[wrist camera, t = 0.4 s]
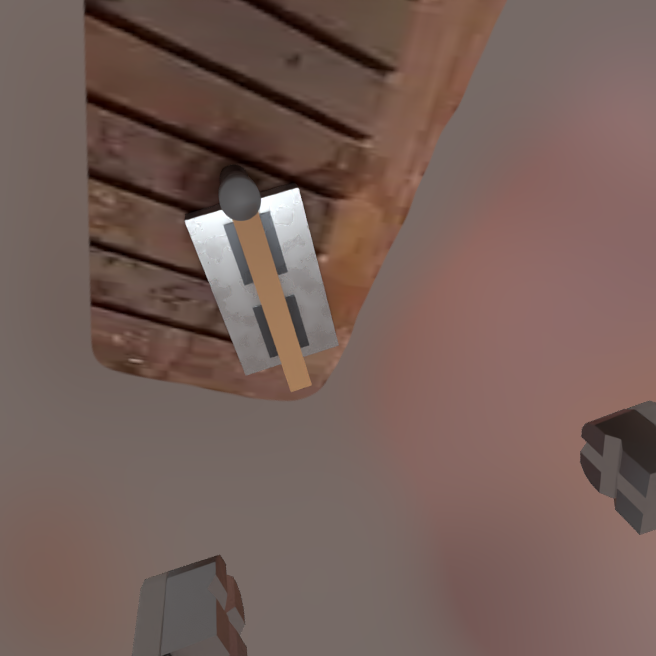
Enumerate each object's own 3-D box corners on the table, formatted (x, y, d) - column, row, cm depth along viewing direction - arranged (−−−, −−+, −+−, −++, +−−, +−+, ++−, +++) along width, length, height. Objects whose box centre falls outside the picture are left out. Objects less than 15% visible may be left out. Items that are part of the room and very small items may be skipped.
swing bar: (212, 180, 42) (213, 186, 40) (251, 169, 42) (254, 174, 40) (282, 381, 54) (285, 393, 52) (312, 371, 54) (316, 383, 52)
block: (172, 181, 48) (168, 196, 42) (285, 149, 49) (296, 159, 43) (244, 364, 60) (248, 394, 54) (333, 335, 61) (347, 362, 55)
